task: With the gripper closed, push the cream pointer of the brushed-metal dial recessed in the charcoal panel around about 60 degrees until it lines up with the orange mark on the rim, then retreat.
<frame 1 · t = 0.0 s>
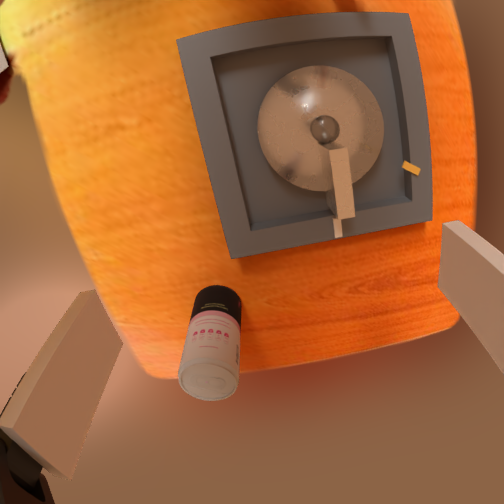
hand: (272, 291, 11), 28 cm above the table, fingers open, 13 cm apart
beverage can: (218, 302, 45), on the table
dial: (328, 137, 31), point 5 cm above the table, hinge at 0.0°
panel: (317, 126, 34), on the table
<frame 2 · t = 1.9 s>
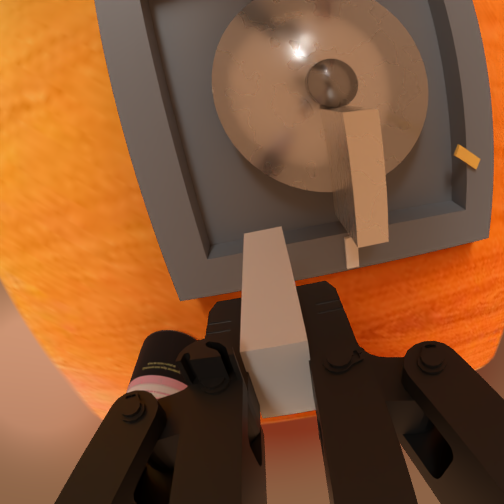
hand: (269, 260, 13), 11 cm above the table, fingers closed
beverage can: (175, 350, 31), on the table
dial: (338, 95, 16), point 5 cm above the table, hinge at 0.0°
panel: (318, 85, 20), on the table
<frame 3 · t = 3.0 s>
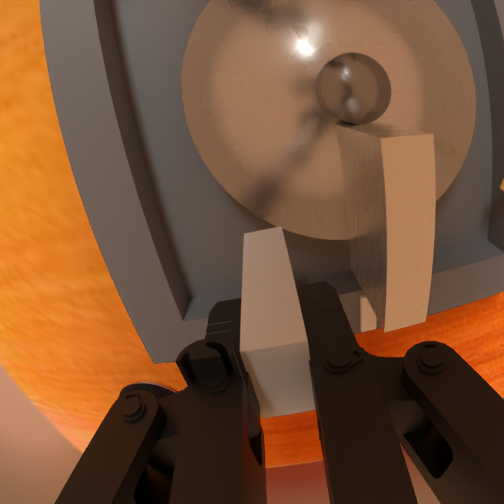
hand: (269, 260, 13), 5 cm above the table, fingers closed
beverage can: (156, 400, 25), on the table
dial: (364, 106, 11), point 5 cm above the table, hinge at 0.0°
panel: (331, 90, 15), on the table
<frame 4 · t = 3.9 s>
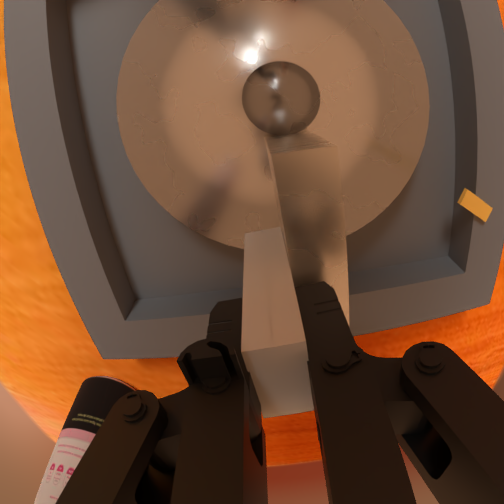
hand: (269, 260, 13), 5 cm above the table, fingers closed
beverage can: (115, 394, 25), on the table
dial: (286, 117, 11), point 5 cm above the table, hinge at 2.1°, touching gripper
panel: (274, 99, 15), on the table
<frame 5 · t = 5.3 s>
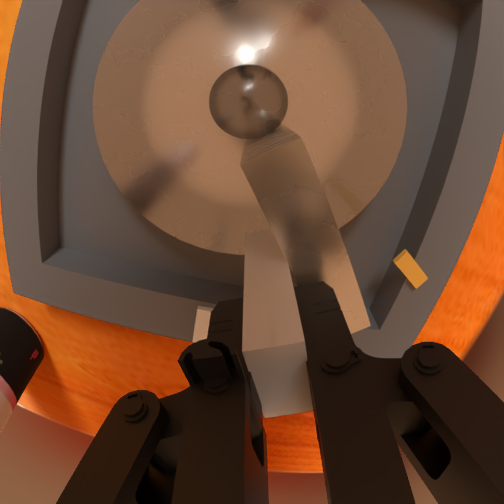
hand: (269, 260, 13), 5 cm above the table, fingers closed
beverage can: (19, 332, 23), on the table
dial: (257, 119, 11), point 5 cm above the table, hinge at 37.8°, touching gripper
panel: (249, 101, 15), on the table
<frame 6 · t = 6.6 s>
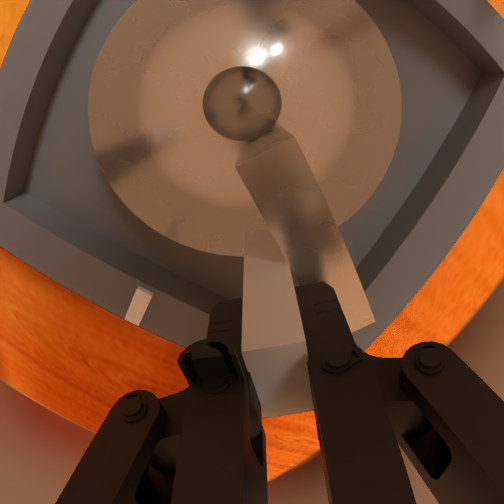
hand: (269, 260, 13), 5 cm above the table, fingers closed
dial: (251, 120, 11), point 5 cm above the table, hinge at 58.2°, touching gripper
panel: (244, 103, 15), on the table
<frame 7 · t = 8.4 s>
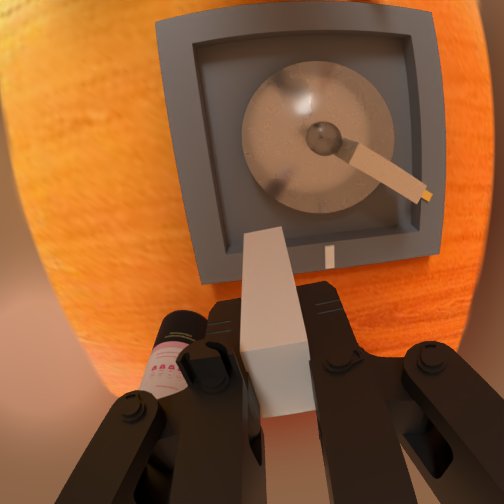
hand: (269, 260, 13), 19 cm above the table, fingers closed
beverage can: (187, 328, 39), on the table
dial: (333, 143, 25), point 5 cm above the table, hinge at 58.2°
panel: (315, 135, 29), on the table
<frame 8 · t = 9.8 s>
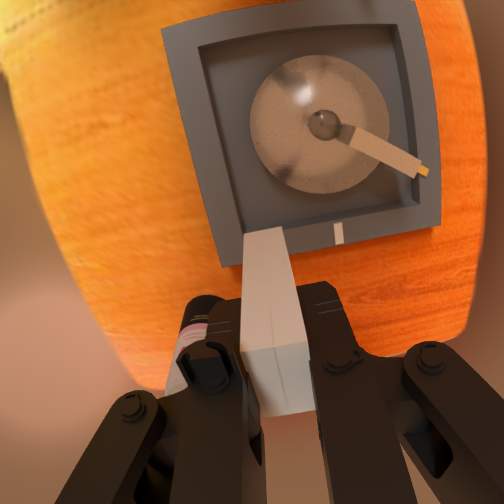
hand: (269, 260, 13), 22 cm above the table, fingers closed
beverage can: (210, 312, 42), on the table
dial: (334, 128, 27), point 5 cm above the table, hinge at 58.2°
panel: (316, 122, 31), on the table
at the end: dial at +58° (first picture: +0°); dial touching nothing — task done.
